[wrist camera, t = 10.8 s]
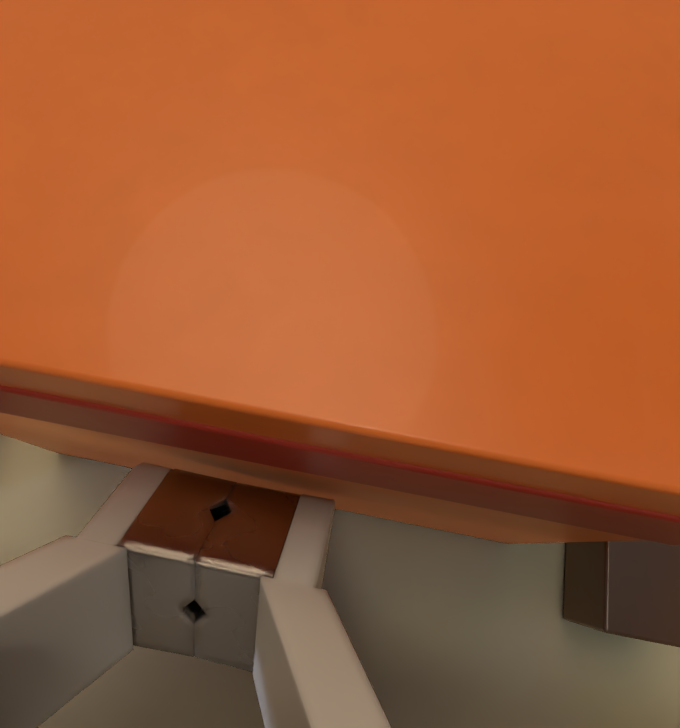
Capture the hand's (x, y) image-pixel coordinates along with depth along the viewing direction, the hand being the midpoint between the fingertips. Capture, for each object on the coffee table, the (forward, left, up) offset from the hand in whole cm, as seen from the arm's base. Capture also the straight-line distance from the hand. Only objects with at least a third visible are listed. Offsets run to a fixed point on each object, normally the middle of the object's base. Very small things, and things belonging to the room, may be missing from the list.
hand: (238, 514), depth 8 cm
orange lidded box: (0, +7, -4) cm, 8 cm away
